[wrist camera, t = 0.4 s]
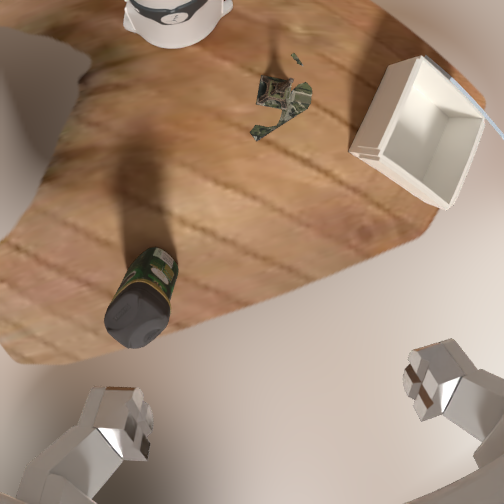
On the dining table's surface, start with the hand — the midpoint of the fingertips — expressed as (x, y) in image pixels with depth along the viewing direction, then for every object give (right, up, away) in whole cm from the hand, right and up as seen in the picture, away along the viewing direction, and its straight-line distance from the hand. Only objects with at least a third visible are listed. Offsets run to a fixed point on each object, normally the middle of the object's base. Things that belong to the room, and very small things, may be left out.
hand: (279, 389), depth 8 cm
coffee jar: (-19, +1, +47) cm, 51 cm away
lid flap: (+33, +27, +27) cm, 51 cm away
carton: (+29, +27, +44) cm, 59 cm away
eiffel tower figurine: (+3, +30, +40) cm, 50 cm away
